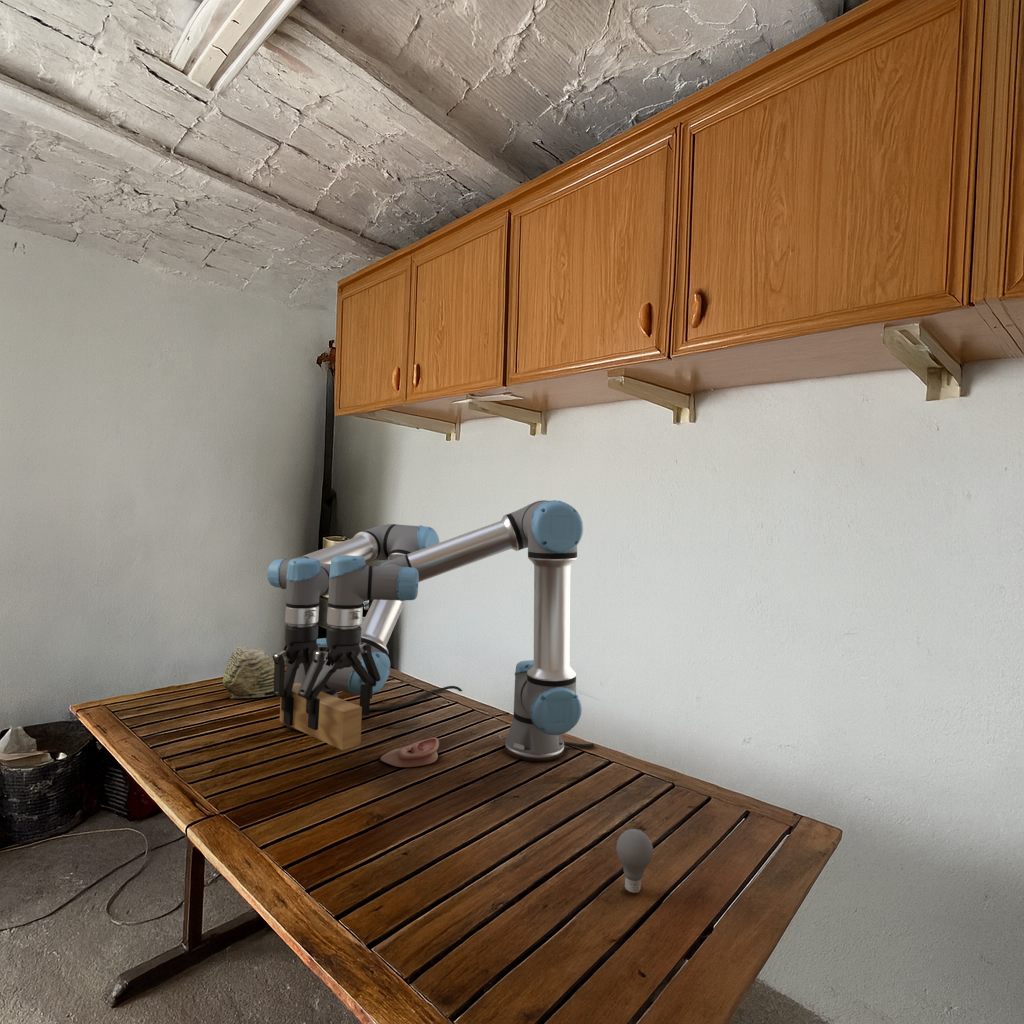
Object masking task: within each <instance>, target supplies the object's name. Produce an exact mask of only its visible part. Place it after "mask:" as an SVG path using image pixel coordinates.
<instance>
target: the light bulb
mask: <svg viewBox="0 0 1024 1024" xmlns="http://www.w3.org/2000/svg"><path fill="white" fill-rule="evenodd" d="M615 849H616V854H617V857H618V859H619V861H620V863H621V865H622V867H623V873H624V874H623V875H624V876H625V878H624V888H625V890H627V891H628V892H630V893H634V894H635V893H639V892H640V891H641V889H642V887H641V886H642V879H643V877H644V875H645V871H646V868H647V867H648V866H649V864H650V863H651V861H652V859H653V855H654V847H653V843H652V841H651V838H649V836H648V835H647V834H646V833H645V832H643V831H642V830H641V829H636V828H629V829H627V830H625V831H623V832H622V833H621V834H620V835H619V837H618V839H617V841H616V847H615Z"/></svg>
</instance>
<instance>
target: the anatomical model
mask: <svg viewBox="0 0 1024 1024" xmlns="http://www.w3.org/2000/svg"><path fill="white" fill-rule="evenodd" d="M439 747H440V741H439V739H438V737H430V738H426V739H422V740H419V741H416V742H414V743H411V744H409V745H406V746H403V747H398V748H395V749H392V750H389V751H388V752H386V753H385V754H383V755H382V756H381V757H380V759H379V760H380V761H381V762H383V763H384V764H387V765H390V766H392V767H397V768H413V767H420V766H425V765H431V764H432V763H435V762H436V761H437V760H438V758H439V754H438V752H437V751H438V749H439Z"/></svg>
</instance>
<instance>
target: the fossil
mask: <svg viewBox="0 0 1024 1024" xmlns="http://www.w3.org/2000/svg"><path fill="white" fill-rule="evenodd" d="M274 666H275V663H274V660H273V658H271V657H270V656H269V655H268V654H267V653H266V652H265V650H264V649H263V648H260V647H258V648H251V647H247V646H246V647H245V646H238V647H237V648H236V649H235V650H233V651H232V653H231V656H230V657H229V659H228V660H227V663H226V666H225V668H224V671H223V675H222V676H223V677H222V685H223V687H224V688H225V690H226V691H228V693H229V698H230V699H250V698H264V697H271V696H275V695H274Z"/></svg>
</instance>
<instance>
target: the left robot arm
mask: <svg viewBox="0 0 1024 1024" xmlns="http://www.w3.org/2000/svg"><path fill="white" fill-rule="evenodd" d="M440 542H441V541H440V538H439V535H438V532H437V531H436V530H435V529H434V528H433V527H431V526H424V525H422V524H421V525H410V524H409V525H407V524H398V523H397V524H396V523H388V524H381V525H378V526H375V527H371V528H369V529H365V530H362V531H359V532H357V533H356V534H355V535H354V536H353V537H352V538H349V539H347V540H344V541H341V542H338V543H335V544H332V545H330V546H327V547H324V548H322V549H321V548H320V549H318V550H316V551H312V552H309V553H307V554H305V555H302V556H298V557H295V558H292V559H287V558H283V559H281V558H280V559H279V558H278V559H275V560H273V561H272V562H271V563H270V564H269V566H268V568H267V572H266V576H267V581H268V583H269V584H270V586H272V587H274V588H277V589H278V588H279V589H282V590H286V595H285V596H286V600H285V615H284V616H285V617H284V622H285V624H286V625H285V626H284V641H285V642H284V643H285V644H284V647H283V650H281V651H280V652H278V653H277V652H274V653H272V660H273V661H274V663H275V666H274V695H273V696H276V697H279V698H281V709H282V711H284V720H283V723H282V724H284V723H285V724H284V725H285V726H286V728H287V729H289V730H291V731H294V732H295V731H296V732H301V733H303V732H302V731H299V730H297V729H295V728H293V727H291V725H293V701H294V697H291V692H292V688H293V684H295V683H300V684H302V683H303V681H304V678H305V676H306V674H307V672H308V669H309V667H310V665H311V663H312V660H313V653H314V651H316V650H317V651H320V652H323V651H326V650H327V642H326V637H322V638H319V625H318V622H319V616H320V615H319V612H320V597H323V596H328V595H329V575H330V566H331V560H332V559H333V558H334V557H336V556H342V555H350V556H361V557H364V558H365V563H366V564H367V563H371V562H373V561H386V560H388V559H396V558H398V557H401V556H405V555H407V554H409V553H412V552H415V551H418V550H421V549H423V548H426V547H429V546H432V545H435V544H437V543H440ZM406 602H407V600H404V601H400V600H374V599H372V602H371V604H370V606H369V607H368V611H367V613H366V615H365V617H364V619H363V620H362V624H361V625H360V627H361V628H362V632H361V642H360V643H359V645H360V644H361V643H362V642H364V643H367V644H370V645H371V653H372V656H373V659H374V661H375V664H376V667H377V669H378V672H379V675H380V677H381V679H380V681H379V682H378V681H377V682H376V683H377V684H376V686H374V687H373V692H372V696H374V695H375V694H376V693H378V692H379V691H380V690H382V689H383V687H384V686H385V684H386V683H387V681H388V678H389V676H390V672H391V670H390V668H391V661H390V658H389V649H388V647H387V645H388V642H389V640H390V638H391V635H392V633H393V631H394V629H395V626H396V625H397V621H398V620H399V617H400V615H401V613H402V610H403V608H404V606H405V603H406ZM357 657H358V659H359V660H360V661H361V663H362V666H363V667H364V668H365V670H366V671H367V669H366V666H365V664H364V661H363V658H362V656H361V653H359V655H358V656H357ZM286 659H287V660H286ZM325 659H326V660H327V658H325ZM325 662H326V661H324V663H325ZM324 663H323V665H324ZM330 666H331V665H330ZM331 667H332V666H331ZM322 669H323V666H322ZM322 669H321V670H322ZM320 672H321V671H320ZM367 672H368V671H367ZM362 684H364V685H365V683H364V682H363V681H362V680H361V678H360V677H359V676H358V674H357V673H356V672H355V670H354V669H353V668H352V666H351V667H348V668H347V667H345V668H343V669H337V670H336V672H335V673H333V674H332V675H331V677H330V678H329V680H328V681H327V683H326V684H325V686H324V687H323V689H322V690H321V692H324V693H326V694H329V695H332V696H334V697H337V698H339V695H338V692H343V693H347V694H352V695H353V696H360V688H361V685H362ZM450 689H452V690H457V692H463V689H462V688H460V687H459V686H456V685H447V686H443V687H440V688H436V689H432V690H428V691H427V692H424V693H423V694H420V695H418V696H417V697H415V698H413V699H411V700H409V701H406V702H402V703H398V704H397V703H396V704H392V705H385V706H377V707H370V710H369V712H375V711H376V712H377V711H384V710H390V709H396V708H397V709H398V708H402V707H405V706H408V705H411V704H413V703H416V702H417V701H419V700H421V699H423V698H426V697H427V696H429V695H431V694H434V693H439V692H442V691H447V690H450ZM286 724H287V725H286Z"/></svg>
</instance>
